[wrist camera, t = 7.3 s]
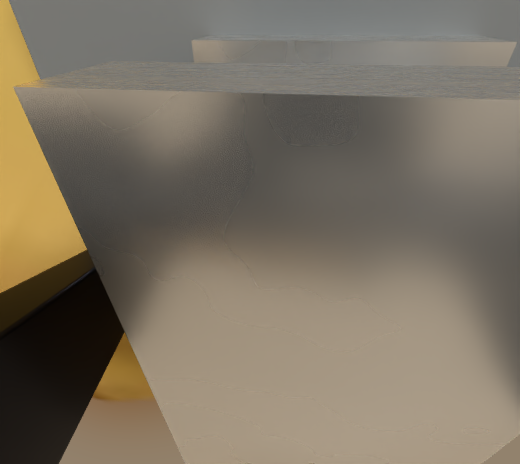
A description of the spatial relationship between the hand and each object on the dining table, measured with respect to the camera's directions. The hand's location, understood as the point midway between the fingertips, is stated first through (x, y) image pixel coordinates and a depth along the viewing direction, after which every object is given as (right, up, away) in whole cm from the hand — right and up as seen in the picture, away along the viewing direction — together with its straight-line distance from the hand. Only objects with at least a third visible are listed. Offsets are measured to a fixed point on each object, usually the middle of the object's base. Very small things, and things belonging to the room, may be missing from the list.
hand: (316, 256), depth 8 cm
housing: (0, +2, +2) cm, 2 cm away
